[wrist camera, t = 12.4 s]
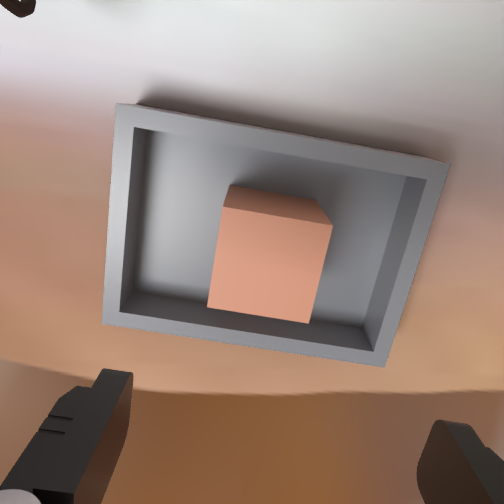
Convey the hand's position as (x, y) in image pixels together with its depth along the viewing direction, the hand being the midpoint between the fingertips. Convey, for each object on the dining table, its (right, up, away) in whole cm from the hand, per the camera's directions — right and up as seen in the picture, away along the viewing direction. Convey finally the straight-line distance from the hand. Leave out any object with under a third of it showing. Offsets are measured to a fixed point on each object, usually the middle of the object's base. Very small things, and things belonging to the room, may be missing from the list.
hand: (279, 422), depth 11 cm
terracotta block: (0, +6, +16) cm, 17 cm away
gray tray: (0, +6, +17) cm, 18 cm away
